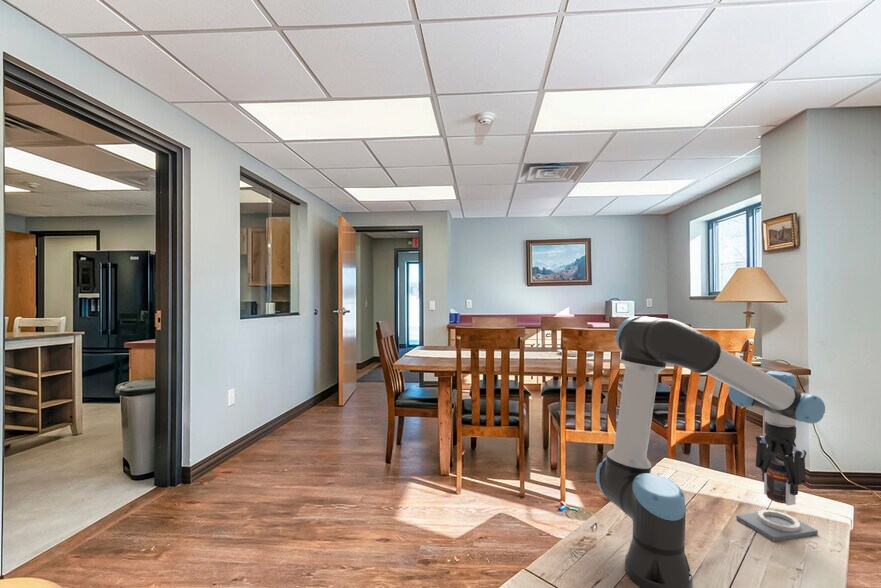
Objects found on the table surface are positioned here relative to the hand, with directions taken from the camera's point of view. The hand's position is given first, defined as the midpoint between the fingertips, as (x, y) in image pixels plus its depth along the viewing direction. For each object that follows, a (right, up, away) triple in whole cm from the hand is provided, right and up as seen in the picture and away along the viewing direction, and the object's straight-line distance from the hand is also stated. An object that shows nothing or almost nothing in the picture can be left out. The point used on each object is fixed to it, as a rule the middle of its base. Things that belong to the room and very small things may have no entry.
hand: (779, 498), depth 129 cm
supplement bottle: (0, 0, 0) cm, 1 cm away
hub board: (-1, -8, 0) cm, 9 cm away
